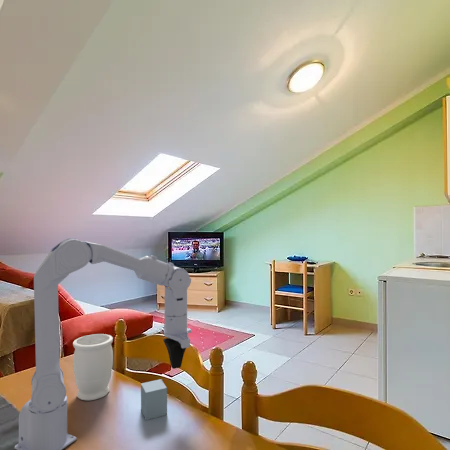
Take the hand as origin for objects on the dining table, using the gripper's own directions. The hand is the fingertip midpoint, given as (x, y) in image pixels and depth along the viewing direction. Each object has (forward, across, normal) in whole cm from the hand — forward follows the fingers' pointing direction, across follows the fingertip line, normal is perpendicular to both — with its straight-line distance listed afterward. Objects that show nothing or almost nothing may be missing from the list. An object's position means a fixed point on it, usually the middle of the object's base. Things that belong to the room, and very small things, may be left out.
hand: (176, 367), depth 85 cm
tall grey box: (+10, +1, +6) cm, 12 cm away
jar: (+11, +18, +18) cm, 27 cm away
